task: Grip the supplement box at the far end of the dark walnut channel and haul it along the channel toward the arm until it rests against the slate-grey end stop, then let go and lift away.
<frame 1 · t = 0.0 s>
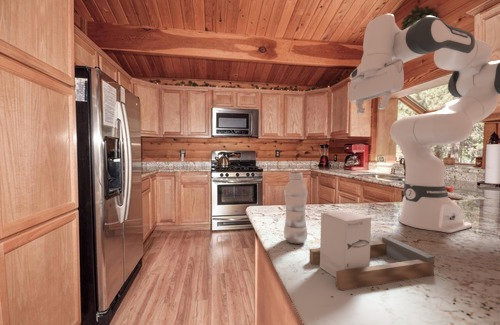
hand: (370, 111, 77), 39 cm above the countertop, tool pointing down, fingers open, 8 cm apart
supplement box: (343, 272, 52), on the countertop
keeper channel: (367, 268, 53), on the countertop
plastic bottle: (295, 242, 69), on the countertop
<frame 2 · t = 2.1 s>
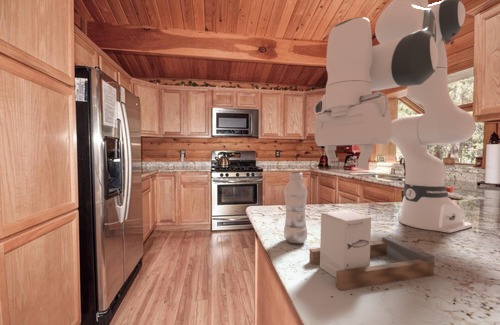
hand: (346, 167, 51), 23 cm above the countertop, tool pointing down, fingers open, 8 cm apart
nothing on the countertop moved.
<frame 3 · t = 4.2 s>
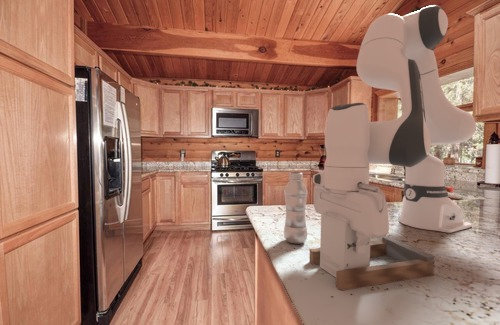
hand: (344, 243, 52), 6 cm above the countertop, tool pointing down, fingers closed on supplement box, 8 cm apart
supplement box: (343, 272, 52), on the countertop, touching gripper
everything else where it was.
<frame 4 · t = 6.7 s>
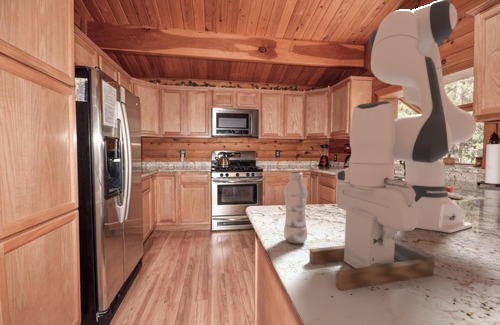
hand: (369, 237, 53), 7 cm above the countertop, tool pointing down, fingers closed on supplement box, 8 cm apart
supplement box: (367, 266, 54), on the countertop, touching gripper
everything else where it was.
when the fingers open (7 cm above the countertop, at t = 9.3 s): supplement box stays where it is, on the countertop.
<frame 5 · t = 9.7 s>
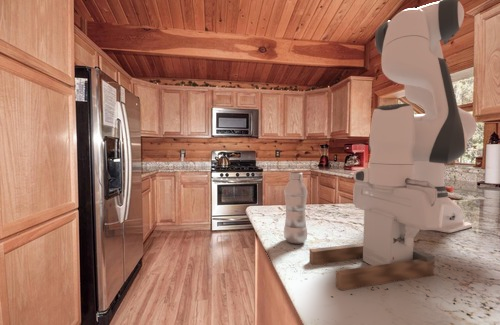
hand: (388, 236, 55), 7 cm above the countertop, tool pointing down, fingers open, 8 cm apart
supplement box: (386, 265, 55), on the countertop
everything else where it was.
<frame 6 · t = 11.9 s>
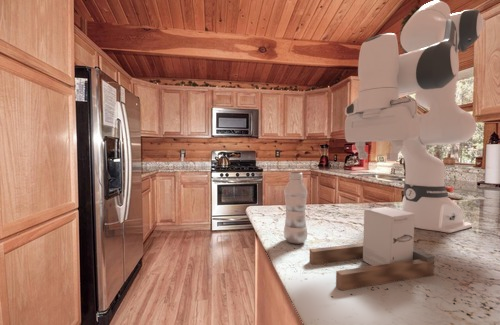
hand: (376, 160, 60), 24 cm above the countertop, tool pointing down, fingers open, 8 cm apart
nothing on the countertop moved.
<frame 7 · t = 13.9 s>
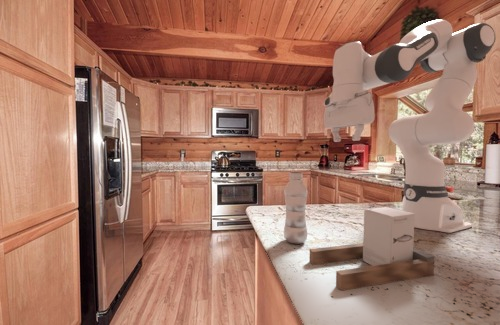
hand: (346, 141, 76), 29 cm above the countertop, tool pointing down, fingers open, 8 cm apart
nothing on the countertop moved.
at the end: supplement box 0.3 cm from the target spot, on the countertop; supplement box tilted 0°; the gripper is holding nothing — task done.
